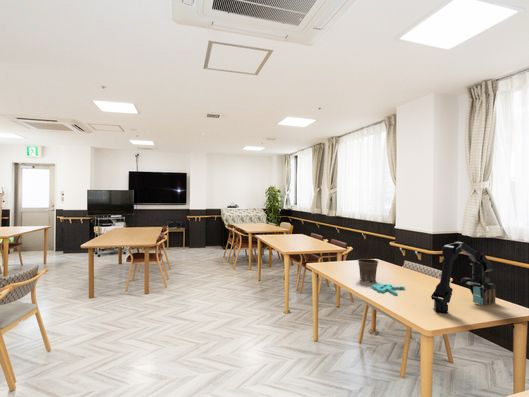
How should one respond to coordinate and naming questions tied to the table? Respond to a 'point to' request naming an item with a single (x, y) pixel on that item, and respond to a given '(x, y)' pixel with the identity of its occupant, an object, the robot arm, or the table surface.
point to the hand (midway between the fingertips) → (477, 296)
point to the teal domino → (477, 295)
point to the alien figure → (386, 288)
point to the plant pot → (368, 269)
